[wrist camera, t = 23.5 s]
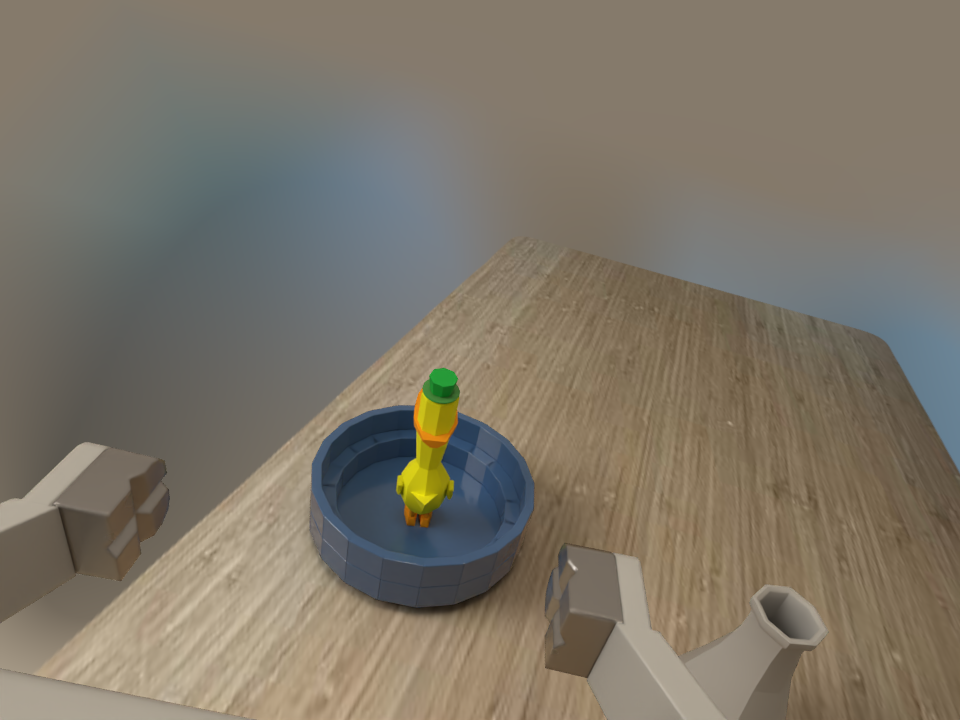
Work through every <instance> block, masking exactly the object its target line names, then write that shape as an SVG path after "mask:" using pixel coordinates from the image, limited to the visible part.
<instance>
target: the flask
mask: <svg viewBox="0 0 960 720" xmlns="http://www.w3.org/2000/svg"><path fill="white" fill-rule="evenodd" d="M750 606H751V608H752V610H751V612H750V614H749V615H748V616H747V618H746V619H745V621H744V622H743V623H742V624H741V625H740V626H739V627H737V628H736V629H735V630H734V631H732V632H730V633H728V634H726V635H724V636H722V637H720V638H718V639H716V640H714V641H712V642H710V643H708V644H706V645H704V646H702V647H699V648H697V649H694V650H692V651H689V652H687V653H685V654H682V655H680V656H678V657H679V658H680V659H681V660H682V662H683V663H684V664H685V666H686V667H687V668H688V670H689V671H690V672H691V673H692V675H693V676H694V677H695V679H696V680H697V681H698V683H699V684H700V685H701V686H702V688H703V689H704V690H705V692H706V693H707V694H708V696H709V697H710V698H711V699H712V701H713V702H714V703H715V705H716V706H717V707H718V709H719V710H720V711H721V712H722V714H723V715H724V716H725V718H726V719H727V720H786V712H787V705H788V698H789V691H790V684H791V678H792V676H793V673H794V671H795V668H796V666H797V664H798V661H799V659H800V656H801V654H802V653H803V652H804V651H812V650H813V649H815V648H816V646H817V645H818V644H819V643H820V642H821V641H822V640H823V639H824V637H825V636H826V635H827V634H828V632H829V631H828V630H827V628H826V626H825V624H824V622H823V621H822V619H821V617H820V615H819V613H818V612H817V610H816V608H815V607H814V606H813V605H812V604H811V603H809V602H808V601H807V600H806V599H804V598H803V597H802V596H801V595H799V594H798V593H797V592H796V591H794V590H793V589H792V588H791V587H785V586H775V585H765V586H764V587H762V588H761V589H760V590H759V591H758V592H757V593H756V594H755V595H754V596H752V598H751V599H750Z"/></svg>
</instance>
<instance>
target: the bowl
mask: <svg viewBox="0 0 960 720" xmlns="http://www.w3.org/2000/svg"><path fill="white" fill-rule="evenodd" d="M414 408H415V406H408V405H398V406H392V407H387V408H382V409H377V410H372V411H368V412H366V413H363V414H361V415H359V416H357V417H355V418H353V419H350V420H348V421H346V422H344V423H342V424H341V425H340V426H339V427H338V428H337V429H336V430H335V431H333V432H332V433H331V434H330V435H329V436H328V437H327V438H326V439H324V441H323V442H322V444H321V446H320V448H319V450H318V452H317V454H316V456H315V458H314V460H313V462H312V474H311V496H310V532H311V535H312V537H313V540H314V542H315V544H316V547H317V549H318V552H319V554H320V556H321V558H322V560H323V561H324V562H325V563H326V564H327V565H328V566H329V567H330V568H331V569H332V570H333V571H334V572H335V573H336V574H337V575H338V576H339V577H340V578H341V579H342V580H343V581H344V582H345V583H346V584H348V585H350V586H352V587H354V588H356V589H358V590H359V591H361V592H363V593H365V594H367V595H369V596H371V597H373V598H375V599H377V600H381V601H386V602H391V603H396V604H401V605H405V606H410V607H417V608H419V607H431V606H443V605H453V604H457V603H459V602H462V601H464V600H467V599H469V598H472V597H474V596H477V595H479V594H482V593H484V592H486V591H487V590H489V589H490V588H491V587H492V586H493V585H494V584H495V583H497V582H498V581H499V580H500V579H501V578H502V577H503V576H504V575H506V574H507V573H508V572H509V571H510V569H511V567H512V565H513V563H514V561H515V559H516V557H517V555H518V553H519V551H520V549H521V546H522V543H523V540H524V537H525V534H526V531H527V528H528V525H529V522H530V519H531V516H532V513H533V509H534V481H533V479H532V476H531V474H530V471H529V469H528V466H527V464H526V461H525V459H524V458H523V457H522V456H521V455H520V453H519V452H518V451H517V450H516V449H515V447H514V446H513V445H512V444H511V443H510V441H509V440H508V439H506V438H505V437H503V436H502V435H501V434H499V433H498V432H496V431H495V430H494V429H492V428H491V427H489V426H488V425H486V424H484V423H483V422H480V421H478V420H476V419H473V418H471V417H469V416H466V415H464V414H462V413H459V412H458V424H457V426H456V429H455V431H454V432H453V434H452V435H451V437H450V439H449V441H448V444H447V447H446V450H445V452H444V455H443V458H442V461H441V463H442V464H443V466H444V468H445V470H446V471H447V473H448V475H449V477H450V480H453V481H454V491H453V495H452V498H451V499H450V500H449V499H448V498H447V496H446V497H445V499H444V500H443V502H442V504H441V505H440V507H439V508H437V509H435V510H433V512H432V517H431V520H430V523H429V526H428V528H426V527H420V520H419V514H417V517H416V522H415V526H407V523H406V519H405V515H404V508H405V503H404V501H403V499H402V496H401V494H400V495H398V494H397V492H396V486H397V478H398V475H401V473H402V472H403V470H404V469H405V468H406V466H407V465H408V463H409V462H410V461H412V460H414V459H415V458H416V429H415V427H414Z"/></svg>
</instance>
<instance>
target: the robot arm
mask: <svg viewBox="0 0 960 720" xmlns="http://www.w3.org/2000/svg"><path fill="white" fill-rule="evenodd" d="M166 473H167V471H166V465H165V461H164V460H162V459H159V458H155V457H150V456H146V455H142V454H138V453H133V452H129V451H125V450H120V449H116V448H110V447H107V446H102V445H98V444H93V443H89V442H85V443H83V444H80V445H78V446H77V447H76V448H74V449H73V451H71V452H70V453H69V454H68V455H67V456H66V457H65V458H64V459H63V460H62V461H61V462H60V463H59V464H58V465H57V466H56V467H55V468H54V469H53V470H52V471H51V472H50V473H49V474H48V475H47V476H46V477H45V478H43V480H41V481H40V482H39V483H38V484H37V485H36V486H35V487H34V488H33V489H32V490H31V491H30V492H29V493H28V494H27V495H26V496H25V497H24V498H23V499H15V498H13V499H11V500H8V501H6V502H3V503H0V623H1V622H3V621H5V620H6V619H8V618H9V617H11V616H13V615H14V614H16V613H17V612H19V611H20V610H22V609H24V608H25V607H27V606H29V605H30V604H32V603H34V602H35V601H37V600H38V599H40V598H42V597H43V596H45V595H46V594H48V593H50V592H51V591H53V590H54V589H56V588H58V587H59V586H61V585H62V584H64V583H66V582H67V581H69V580H70V579H72V578H74V577H75V576H76V573H77V574H82V575H88V576H93V577H100V578H105V579H111V580H116V581H122V579H123V578H124V577H125V575H126V574H127V572H128V571H129V570H130V568H131V567H132V566H133V564H134V562H135V561H136V560H137V559H138V557H139V556H140V555H141V547H140V542H142V541H144V540H146V539H148V538H150V537H152V536H154V535H155V533H156V532H157V531H158V529H159V528H160V526H161V525H162V523H163V521H164V518H165V516H166V513H167V511H168V507H169V500H170V496H169V489H168V488H167V487H166V486H165V485H164V483H163V482H162V481H161V480H162V479H163V477H164V476H165V475H166ZM558 557H559V566H558V567H556V568H554V569H553V570H552V573H551V576H550V578H549V582H548V587H547V591H546V600H545V617H546V618H547V620H548V621H549V623H550V625H549V628H548V630H547V632H546V635H545V668H547V669H551V670H555V671H560V672H564V673H568V674H572V675H577V676H581V677H585V678H587V682H588V684H589V686H590V688H591V690H592V691H593V693H594V695H595V697H596V699H597V701H598V703H599V705H600V707H601V709H602V711H603V713H604V714H605V716H606V718H607V720H727V719H726V718H725V716H724V715H723V714H722V712H721V711H720V710H719V709H718V707H717V706H716V705H715V703H714V702H713V701H712V699H711V698H710V697H709V696H708V694H707V693H706V692H705V690H704V689H703V688H702V686H701V685H700V684H699V683H698V681H697V680H696V679H695V677H694V676H693V675H692V673H691V672H690V671H689V670H688V668H687V667H686V666H685V664H684V663H683V662H682V660H681V659H680V658H679V657H678V655H677V654H676V653H675V651H674V650H673V649H672V647H671V646H670V645H669V644H668V642H667V641H666V640H665V638H664V637H663V636H662V635H661V633H660V632H659V631H655V630H652V627H651V621H650V615H649V609H648V604H647V598H646V592H645V586H644V580H643V574H642V568H641V562H640V561H639V559H638V558H637V557H633V556H628V555H623V554H618V553H612V552H609V551H604V550H599V549H594V548H589V547H584V546H579V545H573V544H568V543H564V545H563V546H562V548H561V550H560V552H559V555H558ZM0 720H255V719H250V718H245V717H240V716H235V715H230V714H225V713H220V712H215V711H210V710H205V709H200V708H195V707H190V706H185V705H180V704H175V703H170V702H165V701H160V700H155V699H150V698H145V697H140V696H135V695H130V694H125V693H120V692H115V691H110V690H105V689H100V688H95V687H90V686H85V685H80V684H75V683H70V682H66V681H61V680H56V679H51V678H46V677H41V676H36V675H31V674H26V673H21V672H16V671H11V670H6V669H0Z"/></svg>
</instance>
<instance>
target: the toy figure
mask: <svg viewBox="0 0 960 720" xmlns="http://www.w3.org/2000/svg"><path fill="white" fill-rule="evenodd" d="M429 377H430V379H429V380H427V381H426V382H425V383H424V385H423V388H422V389H421V391H420V392H419V394H418V397H417V400H416V404H415V408H414V427H415V429H416V458H415V459H414V460H412V461H410V462H409V463H408V465H407V466H406V468H405V469H404V470H403V472H402V473H401V475H398V478H397V486H396V492H397V494H398V495H400V494H401V496H402V499H403V501H404V503H405V508H404V515H405V519H406V523H407V526H415V522H416V517H417V514H419V520H420V527H426V528H428V526H429V523H430V520H431V517H432V512H433V510H435V509H437V508H439V507H440V505H441V504H442V502H443V500H444V499H445V497H446V496H447V498H448V499H449V500H450V499H451V498H452V495H453V491H454V481H453V480H450V477H449V475H448V473H447V471H446V470H445V468H444V466H443V464H442V463H441V461H442V458H443V455H444V452H445V450H446V447H447V444H448V441H449V439H450V437H451V435H452V434H453V432H454V431H455V429H456V426H457V424H458V412H457V406H458V402H459V394H460V390H459V388H458V386H457V385H456V383H457V380H458V378H457V376H456V375H455V373H454V372H453V371H450V370H448V369H445V368H440V369H434V370H433V371H432V373H431V374H430V375H429Z"/></svg>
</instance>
